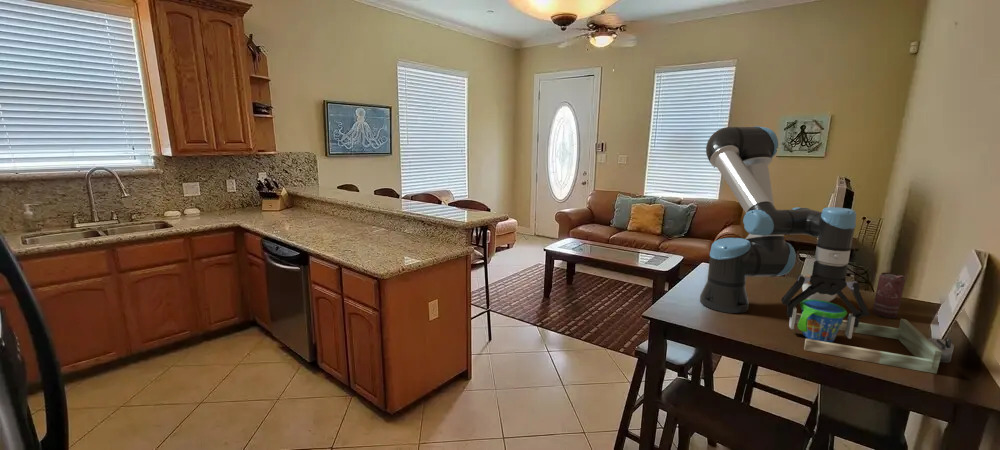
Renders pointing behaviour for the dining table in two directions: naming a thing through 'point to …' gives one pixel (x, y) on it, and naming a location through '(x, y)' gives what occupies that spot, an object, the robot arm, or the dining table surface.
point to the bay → (906, 334)
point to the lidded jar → (817, 295)
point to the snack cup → (820, 319)
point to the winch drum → (944, 348)
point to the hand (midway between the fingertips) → (818, 331)
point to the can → (888, 295)
